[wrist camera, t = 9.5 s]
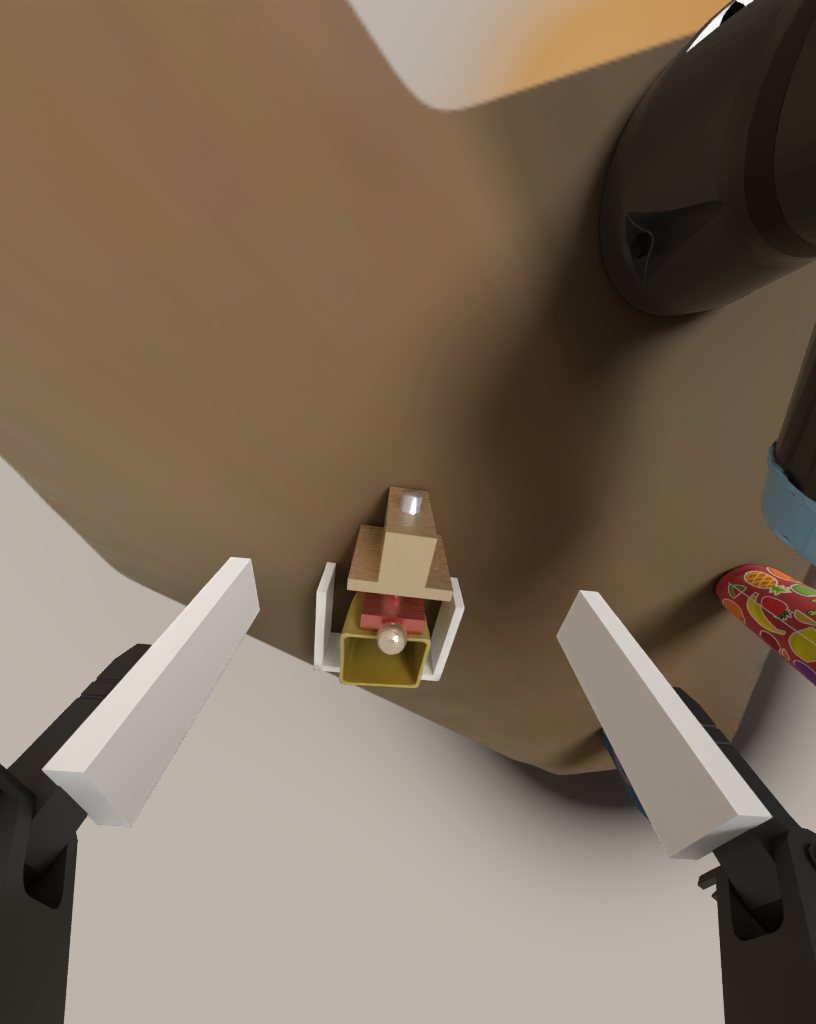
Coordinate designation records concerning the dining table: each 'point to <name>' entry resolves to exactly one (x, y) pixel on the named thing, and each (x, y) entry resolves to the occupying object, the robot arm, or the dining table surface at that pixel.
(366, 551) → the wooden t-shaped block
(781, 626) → the smoothie
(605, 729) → the robot arm
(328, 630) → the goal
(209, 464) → the dining table surface
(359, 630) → the flower pot
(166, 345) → the dining table surface
